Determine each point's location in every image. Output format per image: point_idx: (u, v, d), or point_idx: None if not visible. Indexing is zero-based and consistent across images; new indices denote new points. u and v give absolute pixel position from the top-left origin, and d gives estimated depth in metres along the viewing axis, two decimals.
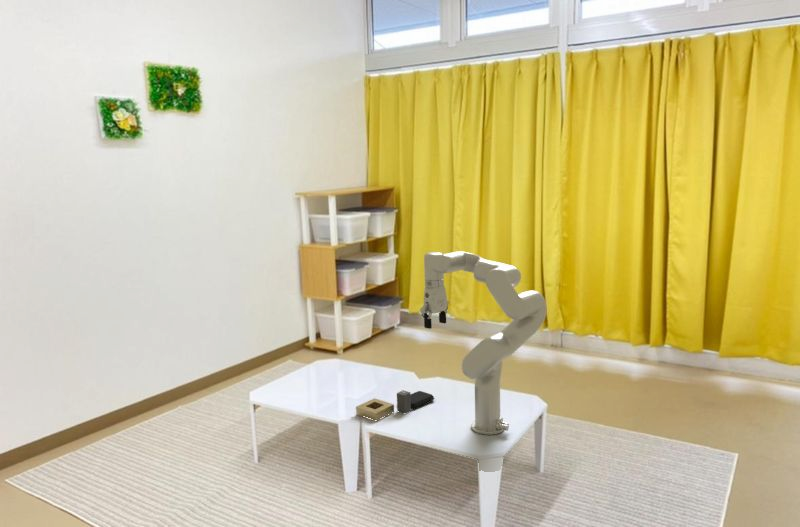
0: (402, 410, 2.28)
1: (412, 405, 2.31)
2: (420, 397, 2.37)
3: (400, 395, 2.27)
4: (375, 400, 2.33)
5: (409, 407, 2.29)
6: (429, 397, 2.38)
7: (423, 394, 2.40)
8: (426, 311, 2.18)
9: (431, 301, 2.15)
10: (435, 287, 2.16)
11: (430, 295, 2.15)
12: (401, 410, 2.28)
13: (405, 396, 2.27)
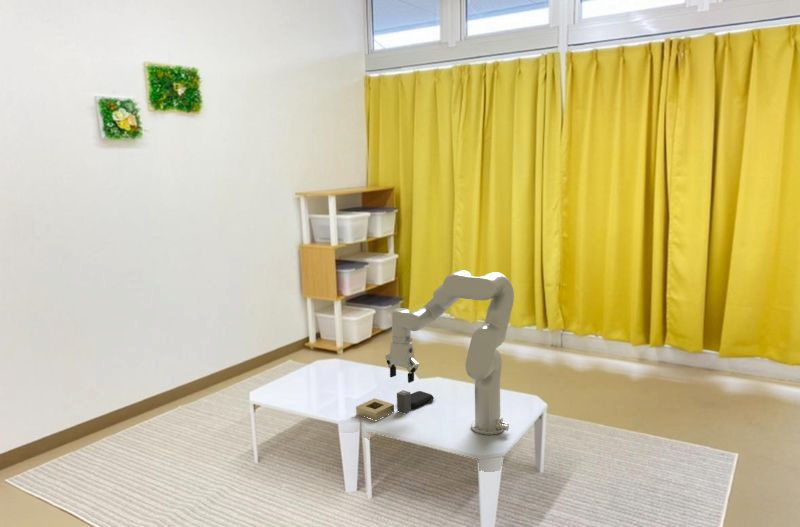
0: (402, 410, 2.28)
1: (412, 405, 2.31)
2: (420, 397, 2.37)
3: (400, 395, 2.27)
4: (375, 400, 2.33)
5: (409, 407, 2.29)
6: (429, 397, 2.38)
7: (423, 394, 2.41)
8: (409, 366, 2.24)
9: (413, 354, 2.25)
10: None
11: (412, 349, 2.24)
12: (401, 410, 2.28)
13: (405, 396, 2.27)
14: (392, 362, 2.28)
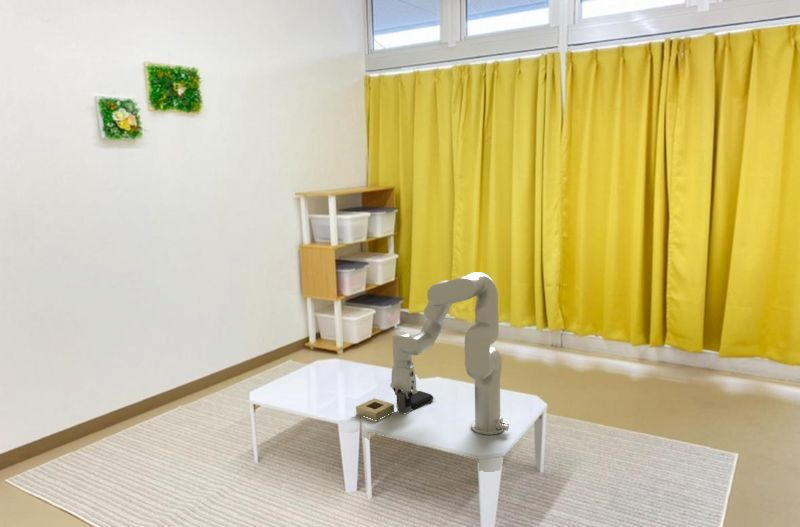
0: (402, 410, 2.28)
1: (411, 405, 2.31)
2: (419, 397, 2.37)
3: (400, 395, 2.27)
4: (375, 400, 2.33)
5: (409, 407, 2.29)
6: (428, 397, 2.38)
7: (423, 394, 2.41)
8: (408, 391, 2.26)
9: (415, 377, 2.26)
10: None
11: (414, 372, 2.26)
12: (401, 410, 2.28)
13: None
14: (394, 386, 2.29)
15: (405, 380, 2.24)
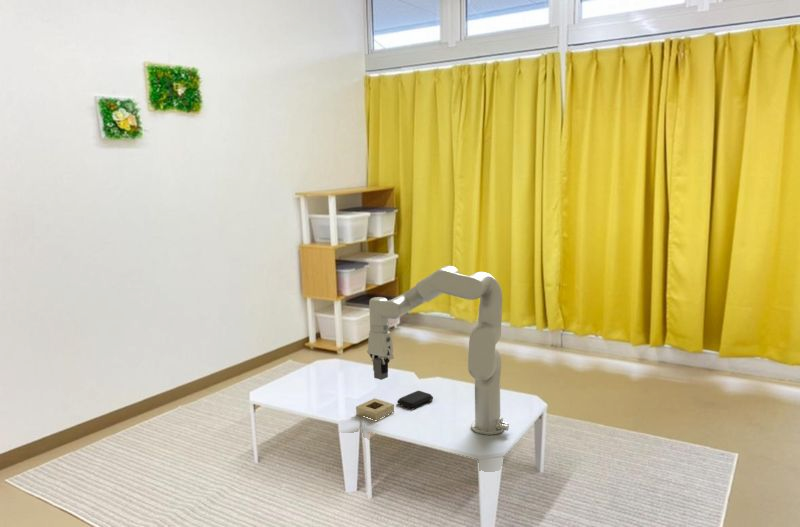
0: (379, 376, 2.25)
1: (410, 405, 2.31)
2: (419, 397, 2.37)
3: (377, 361, 2.24)
4: (375, 400, 2.33)
5: (386, 373, 2.26)
6: (428, 397, 2.38)
7: (422, 394, 2.41)
8: (384, 357, 2.23)
9: None
10: None
11: (390, 338, 2.22)
12: (378, 376, 2.25)
13: None
14: (370, 352, 2.26)
15: (381, 345, 2.21)
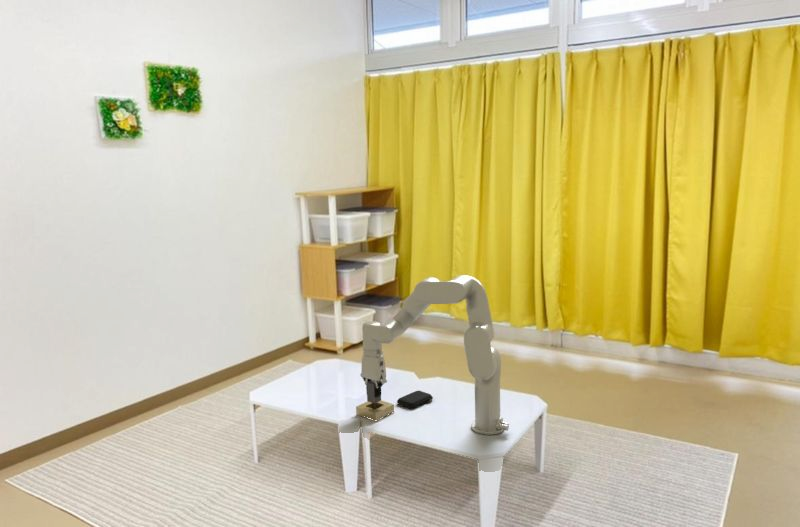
0: (372, 400, 2.26)
1: (410, 405, 2.32)
2: (418, 397, 2.37)
3: (370, 384, 2.25)
4: None
5: (379, 397, 2.27)
6: (427, 397, 2.38)
7: (422, 393, 2.41)
8: None
9: (385, 367, 2.24)
10: None
11: (384, 362, 2.23)
12: (371, 400, 2.26)
13: (375, 386, 2.25)
14: (364, 375, 2.27)
15: (374, 369, 2.22)
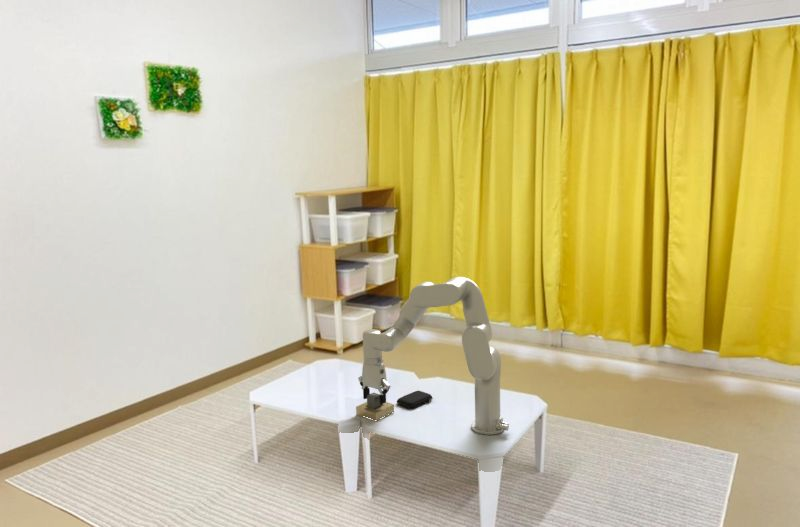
0: None
1: (410, 405, 2.32)
2: (418, 397, 2.38)
3: (370, 397, 2.25)
4: None
5: None
6: (427, 397, 2.38)
7: (422, 393, 2.41)
8: (381, 388, 2.23)
9: (385, 375, 2.24)
10: None
11: (384, 370, 2.24)
12: None
13: (375, 399, 2.25)
14: (364, 383, 2.27)
15: (375, 378, 2.22)
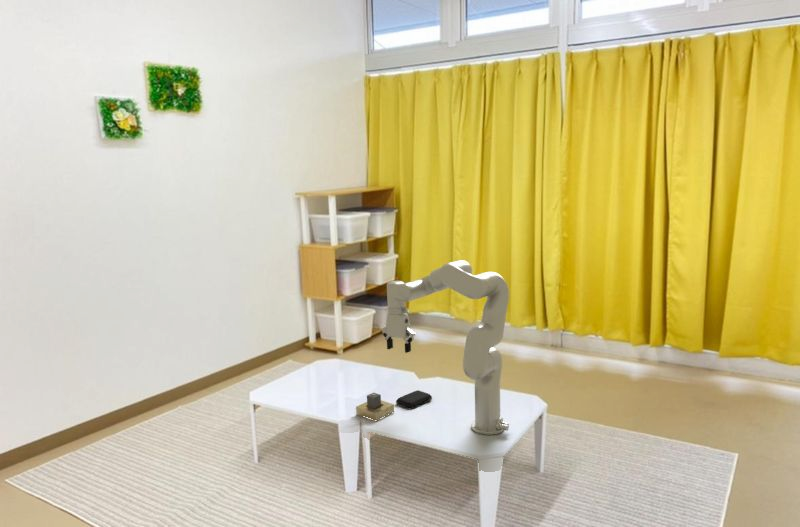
0: None
1: (409, 404, 2.32)
2: (418, 396, 2.38)
3: (370, 397, 2.25)
4: None
5: None
6: (427, 397, 2.39)
7: (421, 393, 2.41)
8: (405, 336, 2.29)
9: (409, 325, 2.31)
10: (405, 312, 2.32)
11: (408, 320, 2.30)
12: None
13: (375, 399, 2.25)
14: (389, 334, 2.33)
15: (400, 327, 2.29)
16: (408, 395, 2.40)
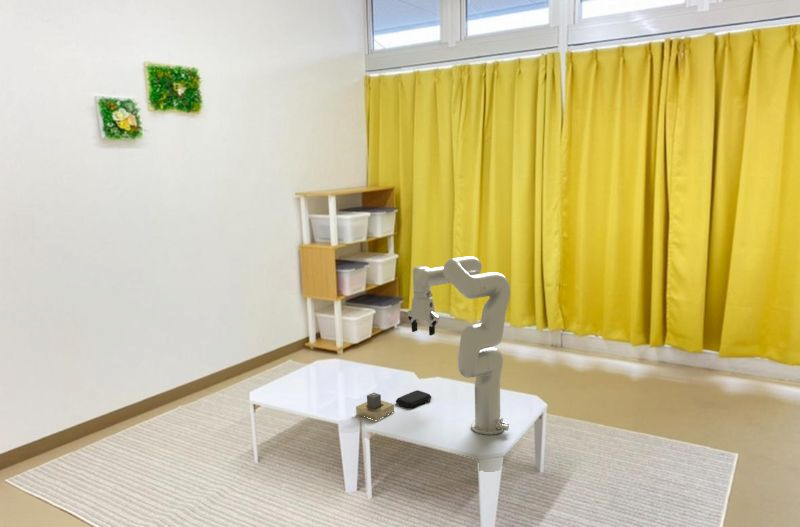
0: None
1: (409, 404, 2.32)
2: (417, 396, 2.38)
3: (370, 397, 2.25)
4: None
5: None
6: (426, 396, 2.39)
7: (421, 393, 2.41)
8: (430, 320, 2.38)
9: (434, 309, 2.39)
10: (430, 296, 2.40)
11: (433, 304, 2.39)
12: None
13: (375, 399, 2.25)
14: (414, 317, 2.42)
15: (425, 310, 2.37)
16: (408, 395, 2.40)
